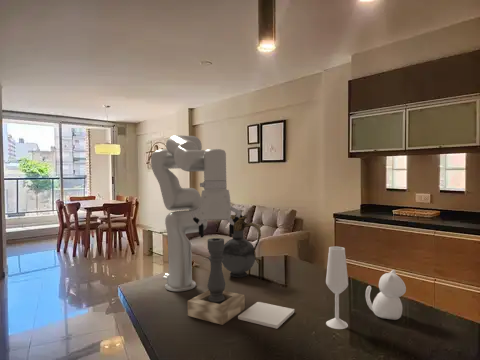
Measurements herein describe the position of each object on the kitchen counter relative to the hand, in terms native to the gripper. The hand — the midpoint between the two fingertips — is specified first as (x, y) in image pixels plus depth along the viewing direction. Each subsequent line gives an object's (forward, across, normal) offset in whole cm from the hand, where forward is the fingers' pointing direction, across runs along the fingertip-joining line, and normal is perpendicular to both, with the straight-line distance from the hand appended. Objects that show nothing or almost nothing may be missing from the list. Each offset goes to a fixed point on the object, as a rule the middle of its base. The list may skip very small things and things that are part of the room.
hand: (216, 236), depth 118 cm
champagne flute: (+27, +38, -9) cm, 47 cm away
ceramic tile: (+26, +16, -2) cm, 31 cm away
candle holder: (+26, 0, +1) cm, 26 cm away
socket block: (+26, 0, +1) cm, 26 cm away
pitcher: (+26, +8, +41) cm, 49 cm away
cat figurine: (+27, +55, -3) cm, 62 cm away
